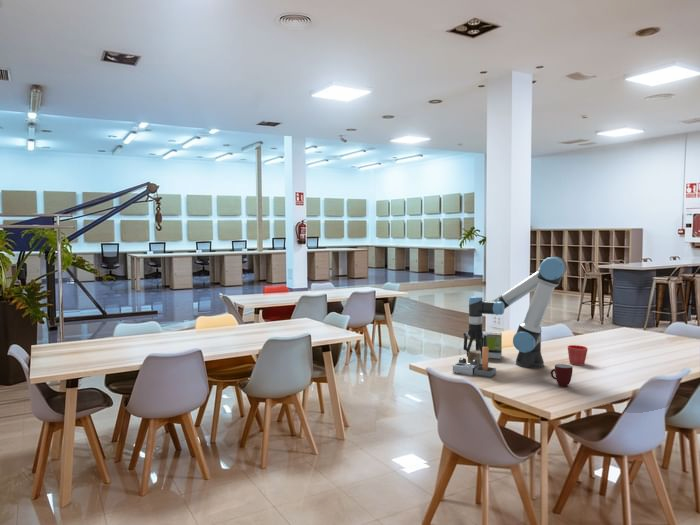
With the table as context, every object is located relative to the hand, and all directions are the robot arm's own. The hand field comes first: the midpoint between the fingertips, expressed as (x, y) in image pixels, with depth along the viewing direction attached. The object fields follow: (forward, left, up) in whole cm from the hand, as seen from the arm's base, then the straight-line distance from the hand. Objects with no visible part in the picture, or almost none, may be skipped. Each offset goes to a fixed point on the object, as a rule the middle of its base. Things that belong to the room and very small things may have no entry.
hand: (475, 363), depth 300 cm
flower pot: (-50, -31, -1) cm, 59 cm away
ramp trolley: (-1, +19, 0) cm, 19 cm away
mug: (-49, +21, -1) cm, 54 cm away
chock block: (0, 0, 0) cm, 0 cm away
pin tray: (-11, +20, 0) cm, 23 cm away
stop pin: (-11, +20, 0) cm, 23 cm away
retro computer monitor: (-1, -22, -1) cm, 22 cm away
